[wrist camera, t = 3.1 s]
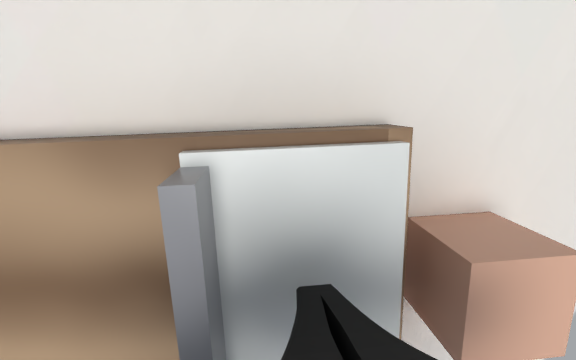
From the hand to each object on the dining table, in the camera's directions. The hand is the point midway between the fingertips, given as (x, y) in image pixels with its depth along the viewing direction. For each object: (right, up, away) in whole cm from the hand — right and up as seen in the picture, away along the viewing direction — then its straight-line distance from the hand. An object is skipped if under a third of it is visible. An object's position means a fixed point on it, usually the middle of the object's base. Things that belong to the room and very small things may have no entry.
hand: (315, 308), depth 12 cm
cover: (-1, 0, +2) cm, 2 cm away
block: (+7, +1, +5) cm, 9 cm away
